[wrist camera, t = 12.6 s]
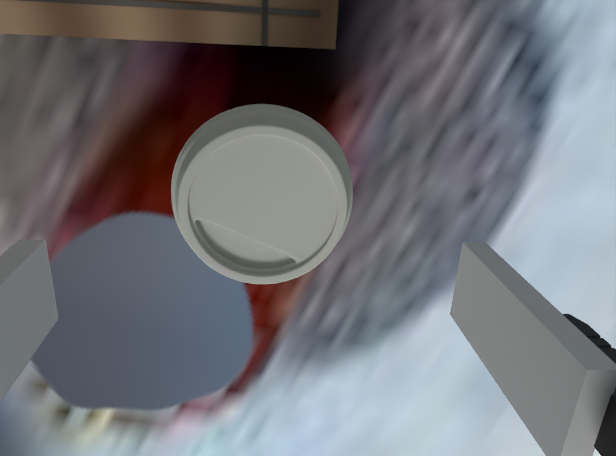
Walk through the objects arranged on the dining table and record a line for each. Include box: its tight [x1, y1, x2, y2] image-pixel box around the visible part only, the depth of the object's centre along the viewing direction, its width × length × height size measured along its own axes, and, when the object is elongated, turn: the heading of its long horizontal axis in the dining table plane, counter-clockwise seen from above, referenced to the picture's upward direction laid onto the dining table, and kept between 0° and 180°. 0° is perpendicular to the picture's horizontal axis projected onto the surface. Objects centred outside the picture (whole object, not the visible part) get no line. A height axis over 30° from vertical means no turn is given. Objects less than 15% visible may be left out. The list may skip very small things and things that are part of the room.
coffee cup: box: [171, 104, 353, 284], centre depth 27 cm, size 9×8×12 cm
